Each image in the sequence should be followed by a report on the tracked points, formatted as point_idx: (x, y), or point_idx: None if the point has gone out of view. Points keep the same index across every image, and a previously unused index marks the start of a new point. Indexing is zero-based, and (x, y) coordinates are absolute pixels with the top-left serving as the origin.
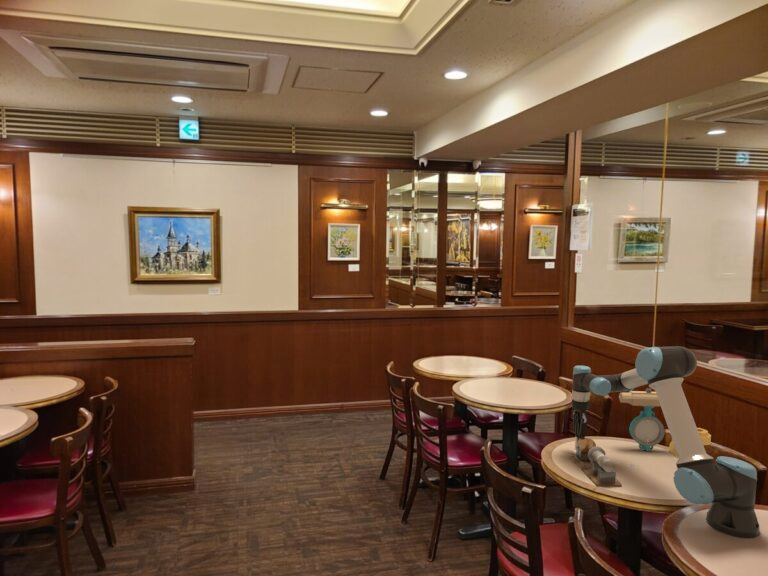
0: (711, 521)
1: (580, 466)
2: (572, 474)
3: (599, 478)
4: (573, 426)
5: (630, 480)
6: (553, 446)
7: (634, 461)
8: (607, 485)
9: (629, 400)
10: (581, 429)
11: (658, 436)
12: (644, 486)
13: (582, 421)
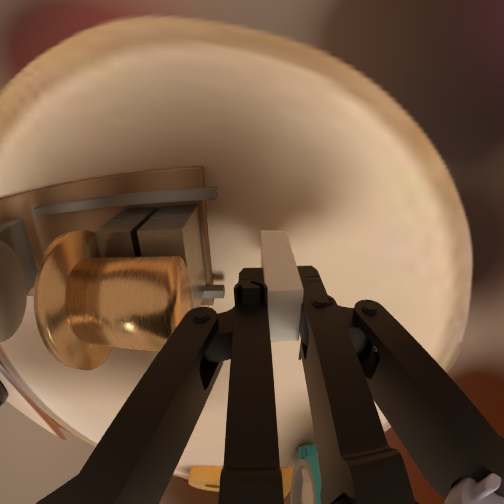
0: None
1: (59, 187)
2: (21, 133)
3: None
4: (408, 337)
5: None
6: (411, 131)
7: (213, 413)
8: None
9: None
10: (138, 394)
11: (298, 493)
12: (32, 348)
13: (47, 496)
